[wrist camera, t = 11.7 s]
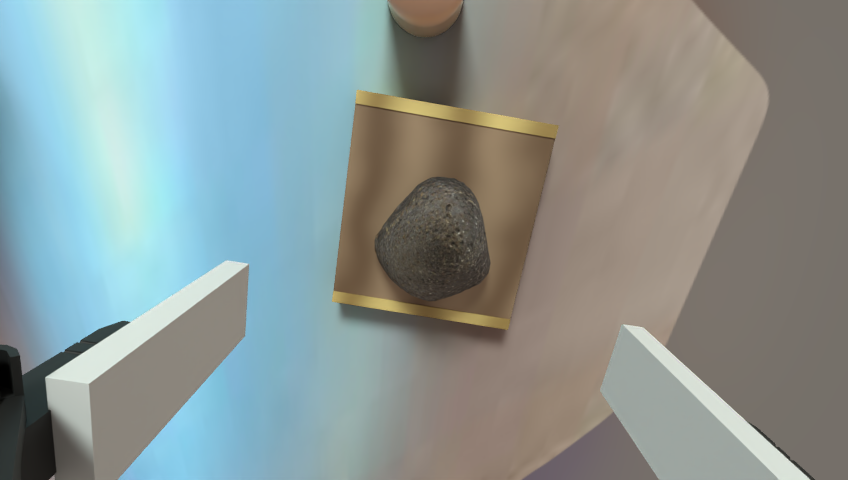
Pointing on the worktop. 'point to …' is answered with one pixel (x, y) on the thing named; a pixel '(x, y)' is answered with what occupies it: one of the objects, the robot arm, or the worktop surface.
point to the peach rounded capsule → (425, 15)
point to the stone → (435, 241)
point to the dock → (440, 157)
